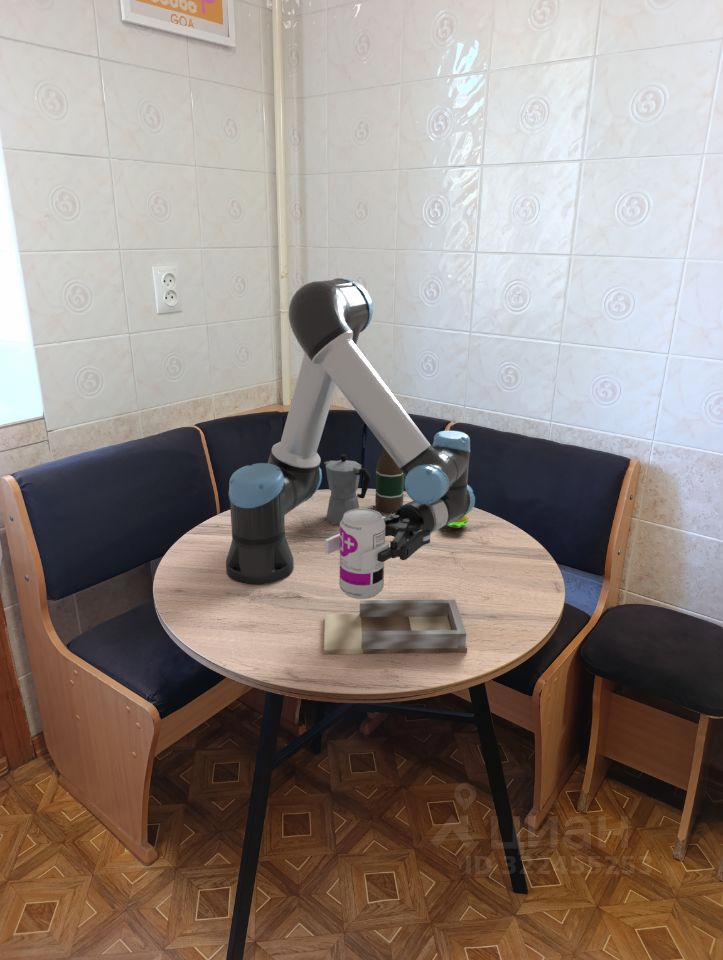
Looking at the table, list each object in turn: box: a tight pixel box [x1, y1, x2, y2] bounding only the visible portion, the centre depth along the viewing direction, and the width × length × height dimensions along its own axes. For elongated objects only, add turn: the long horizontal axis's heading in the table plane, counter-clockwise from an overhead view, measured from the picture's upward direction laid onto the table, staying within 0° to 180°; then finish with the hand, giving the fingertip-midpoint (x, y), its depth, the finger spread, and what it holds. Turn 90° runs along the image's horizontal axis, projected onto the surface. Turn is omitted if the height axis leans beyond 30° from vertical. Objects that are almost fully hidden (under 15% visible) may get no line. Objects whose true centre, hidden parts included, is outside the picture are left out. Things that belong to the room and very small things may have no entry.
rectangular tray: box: [323, 599, 468, 655], centre depth 125 cm, size 26×12×4 cm, turn 92°
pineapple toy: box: [447, 514, 469, 529], centre depth 171 cm, size 7×10×5 cm
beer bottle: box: [374, 447, 405, 514], centre depth 181 cm, size 8×8×24 cm
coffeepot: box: [323, 454, 372, 526], centre depth 174 cm, size 15×9×18 cm, turn 51°
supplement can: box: [339, 508, 386, 600], centre depth 122 cm, size 8×8×15 cm
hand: (344, 554), depth 118 cm, fingers closed on supplement can, 8 cm apart
